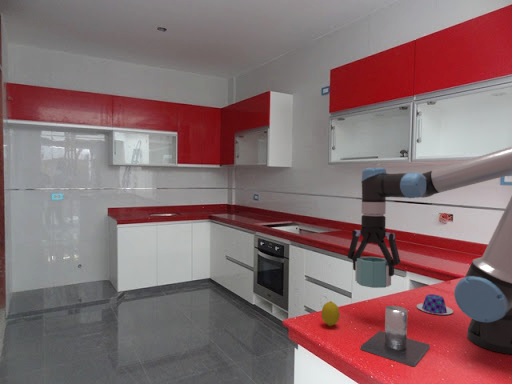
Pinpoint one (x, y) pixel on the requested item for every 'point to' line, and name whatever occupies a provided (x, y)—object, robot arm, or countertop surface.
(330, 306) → the lemon
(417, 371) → the countertop surface
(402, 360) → the domed lamp fixture
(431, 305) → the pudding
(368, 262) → the collar
